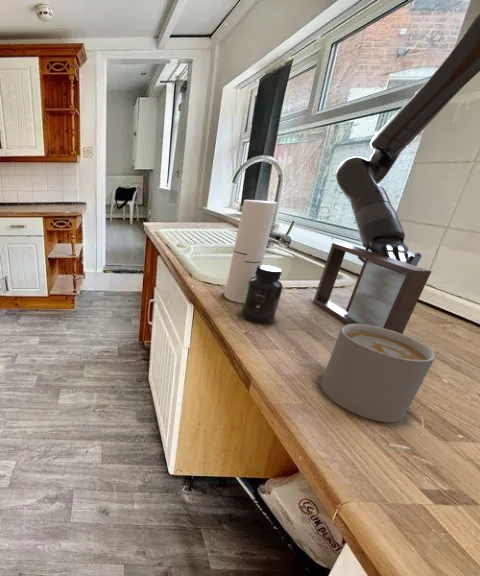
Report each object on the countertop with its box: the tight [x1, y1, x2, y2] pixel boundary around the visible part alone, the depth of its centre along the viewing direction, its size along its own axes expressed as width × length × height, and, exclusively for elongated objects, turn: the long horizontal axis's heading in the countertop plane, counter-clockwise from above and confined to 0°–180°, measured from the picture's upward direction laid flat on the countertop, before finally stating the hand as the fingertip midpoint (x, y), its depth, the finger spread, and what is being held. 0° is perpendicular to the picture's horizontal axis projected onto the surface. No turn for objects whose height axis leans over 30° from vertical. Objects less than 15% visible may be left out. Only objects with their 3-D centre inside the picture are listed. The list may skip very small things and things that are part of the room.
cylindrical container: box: [223, 199, 278, 304], centre depth 77 cm, size 7×7×25 cm
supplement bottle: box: [241, 264, 284, 325], centre depth 69 cm, size 7×7×12 cm
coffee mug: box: [320, 324, 436, 423], centre depth 46 cm, size 13×10×10 cm
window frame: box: [313, 242, 432, 335], centre depth 68 cm, size 22×3×16 cm, turn 177°
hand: (401, 290), depth 68 cm, fingers closed
